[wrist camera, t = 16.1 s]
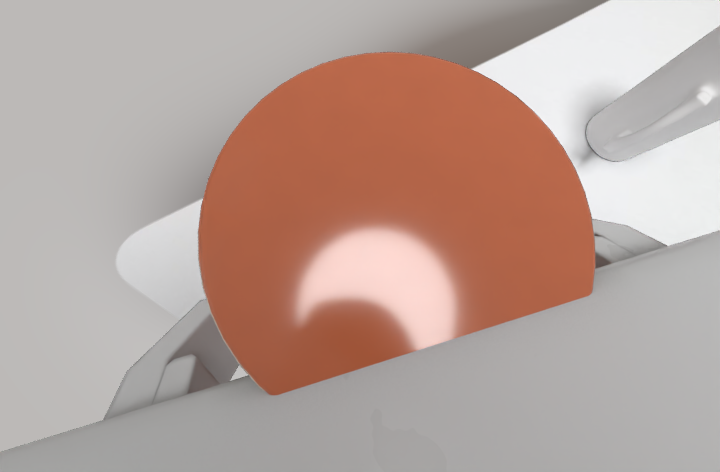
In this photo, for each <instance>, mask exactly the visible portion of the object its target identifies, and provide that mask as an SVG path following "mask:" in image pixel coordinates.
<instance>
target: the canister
mask: <svg viewBox="0 0 720 472" xmlns="http://www.w3.org/2000/svg"><path fill="white" fill-rule="evenodd" d="M198 260H199V266H200V273H201V279H202V286H203V289H204V293H205V296H206V299H207V303H208V306H209V309H210V312H211V315H212V317H213V319H214V322H215V324H216V326H217V328H218V330H219V332H220V334H221V337H222V339H223V341H224V342H225V344H226V345H227V347H228V348H229V350H230V351H231V353H232V354H233V356H234V357H235V359H236V361H237V362H238V364H239V365H240V366H241V367H242V368H243V369H244V371H245V372H246V373H247V374H248V375H249V376H250V378H251V379H252V380H253V381H254V382H255V383H256V384H257V386H258V387H259V388H261V389H262V390H263V391H266V392H267V393H268V394H269V395H280V394H283V393H286V392H289V391H292V390H295V389H298V388H302V387H305V386H308V385H311V384H314V383H317V382H320V381H323V380H327V379H330V378H333V377H336V376H339V375H342V374H345V373H349V372H352V371H355V370H358V369H361V368H364V367H367V366H370V365H374V364H377V363H380V362H383V361H386V360H389V359H392V358H396V357H399V356H402V355H405V354H408V353H411V352H414V351H417V350H421V349H424V348H427V347H430V346H433V345H436V344H439V343H443V342H446V341H449V340H452V339H455V338H458V337H461V336H464V335H468V334H471V333H474V332H477V331H480V330H483V329H486V328H490V327H493V326H496V325H499V324H502V323H505V322H508V321H512V320H515V319H518V318H521V317H524V316H527V315H530V314H533V313H537V312H540V311H543V310H546V309H549V308H552V307H555V306H559V305H562V304H565V303H568V302H571V301H574V300H577V299H580V298H584V297H587V296H589V295H590V294H591V293H592V291H593V284H594V275H595V265H596V262H595V236H594V230H593V223H592V217H591V212H590V209H589V205H588V202H587V198H586V195H585V191H584V189H583V186H582V184H581V181H580V179H579V177H578V174H577V172H576V169H575V168H574V166H573V164H572V162H571V160H570V159H569V157H568V155H567V153H566V151H565V150H564V148H563V147H562V145H561V144H560V142H559V141H558V140H557V138H556V137H555V136H554V134H553V133H552V131H551V130H550V129H549V128H548V127H547V125H546V124H545V123H544V122H543V121H542V120H541V119H540V118H539V117H538V115H537V114H536V113H535V112H534V111H533V110H532V109H530V108H529V107H528V106H527V105H526V104H525V103H524V102H522V101H521V100H520V99H519V98H518V97H517V96H515V95H514V94H513V93H511V92H510V91H508V90H507V89H505V88H504V87H503V86H501V85H500V84H498V83H497V82H495V81H493V80H491V79H489V78H487V77H486V76H484V75H482V74H480V73H478V72H476V71H474V70H471V69H469V68H466V67H464V66H462V65H459V64H457V63H454V62H450V61H447V60H443V59H440V58H436V57H431V56H425V55H420V54H414V53H399V52H380V53H364V54H359V55H353V56H347V57H343V58H339V59H336V60H333V61H329V62H326V63H322V64H320V65H318V66H316V67H314V68H311V69H309V70H306V71H304V72H301V73H300V74H298V75H296V76H295V77H293V78H291V79H289V80H288V81H286V82H284V83H283V84H281V85H280V86H278V87H277V88H276V89H274V90H273V91H272V92H271V93H269V94H268V95H267V96H265V97H264V98H263V99H262V100H261V101H260V102H259V103H258V104H257V105H256V106H255V107H254V108H253V109H252V110H251V111H250V112H249V113H248V114H247V115H246V116H245V117H244V118H243V119H242V121H241V122H240V123H239V125H238V126H237V127H236V129H235V130H234V131H233V132H232V134H231V135H230V137H229V138H228V140H227V142H226V144H225V145H224V147H223V149H222V150H221V152H220V154H219V155H218V157H217V160H216V162H215V165H214V167H213V169H212V172H211V174H210V177H209V179H208V183H207V186H206V190H205V194H204V197H203V201H202V205H201V212H200V220H199V228H198Z"/></svg>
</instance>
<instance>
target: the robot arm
mask: <svg viewBox="0 0 720 472" xmlns="http://www.w3.org/2000/svg"><path fill="white" fill-rule="evenodd" d="M592 223H593V230H594V236H595V262H596V265H595V275H594V284H593V291H592V293H591V294H590V295H589V296H587V297H584V298H580V299H577V300H574V301H571V302H568V303H565V304H562V305H559V306H555V307H552V308H549V309H546V310H543V311H540V312H537V313H533V314H530V315H527V316H524V317H521V318H518V319H515V320H512V321H508V322H505V323H502V324H499V325H496V326H493V327H490V328H486V329H483V330H480V331H477V332H474V333H471V334H468V335H464V336H461V337H458V338H455V339H452V340H449V341H446V342H443V343H439V344H436V345H433V346H430V347H427V348H424V349H421V350H417V351H414V352H411V353H408V354H405V355H402V356H399V357H396V358H392V359H389V360H386V361H383V362H380V363H377V364H374V365H370V366H367V367H364V368H361V369H358V370H355V371H352V372H349V373H345V374H342V375H339V376H336V377H333V378H330V379H327V380H323V381H320V382H317V383H314V384H311V385H308V386H305V387H302V388H298V389H295V390H292V391H289V392H286V393H283V394H280V395H269V394H268V393H267V392H266V391H263V390H262V389H261V388H259V387H258V386H257V384H256V383H255V382H254V381H253V380H252V379H251V378H250V376H249V375H248V376H245V377H242V378H239V379H236V380H233V381H230V379H231V378H232V376H233V374H234V373H235V371H236V369H237V368H238V366H239V364H238V362H237V361H236V359H235V357H234V356H233V354H232V353H231V351H230V350H229V348H228V347H227V345H226V344H225V342H224V341H223V339H222V337H221V334H220V332H219V330H218V328H217V326H216V324H215V322H214V319H213V317H212V315H211V312H210V309H209V306H208V303H207V299H204V300H201V301H200V302H198V303H197V304H196V305H195V306H194V307H193V308H192V309H191V310H190V311H189V312H188V313H187V314H186V315H185V316H184V317H183V318H182V319H181V320H180V321H179V322H178V323H177V324H176V325H175V326H173V327H172V328H171V329H170V330H169V331H168V332H167V333H166V334H165V335H164V336H163V337H162V338H161V339H160V340H159V341H158V342H157V343H156V344H155V345H154V346H153V347H152V348H151V349H150V350H148V351H147V352H146V353H145V354H144V355H143V356H142V357H141V358H140V359H139V360H138V361H137V362H136V363H135V364H134V365H133V366H132V367H131V368H130V369H129V370H128V371H127V372H126V374H125V376H124V378H123V380H122V382H121V385H120V386H119V388H118V390H117V392H116V395H115V397H114V399H113V401H112V403H111V405H110V407H109V409H108V411H107V413H106V415H105V417H104V419H103V420H102V421H99V422H96V423H93V424H90V425H86V426H83V427H80V428H76V429H73V430H70V431H67V432H63V433H60V434H57V435H54V436H50V437H47V438H44V439H41V440H38V441H34V442H31V443H28V444H24V445H21V446H18V447H15V448H12V449H8V450H5V451H2V452H0V472H720V230H719V231H716V232H712V233H709V234H706V235H703V236H699V237H696V238H693V239H690V240H687V241H683V242H680V243H677V244H674V245H670V246H667V245H665V244H663V243H661V242H659V241H657V240H655V239H653V238H651V237H649V236H647V235H645V234H643V233H641V232H639V231H637V230H635V229H633V228H631V227H629V226H627V225H622V224H617V223H611V222H606V221H601V220H596V219H592Z"/></svg>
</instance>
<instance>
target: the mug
mask: <svg viewBox="0 0 720 472" xmlns="http://www.w3.org/2000/svg"><path fill="white" fill-rule="evenodd" d="M718 120H720V26H719V27H717V28H716V29H714V30H713V31H711V32H710V33H709V34H707V35H706V36H704V37H703V38H702V39H700V40H699V41H697V42H696V43H695V44H693V45H692V46H690V47H689V48H688V49H686V50H685V51H683V52H682V53H681V54H679V55H678V56H677V57H675V58H674V59H672V60H671V61H670V62H668V63H667V64H665V65H664V66H663V67H661V68H660V69H659V70H657V71H656V72H654V73H653V74H652V75H650V76H649V77H647V78H646V79H645V80H643V81H642V82H640V83H639V84H638V85H636V86H635V87H634V88H632V89H631V90H629V91H628V92H627V93H625V94H624V95H622V96H621V97H620V98H618V99H617V100H615V101H614V102H613V103H611V104H610V105H608V106H607V107H606V108H604V109H603V110H602V111H600V112H599V113H598V114H596V115H595V116H594V117H593V118H592V119H591V120H590V121H589V123H588V125H587V129H586V136H587V140H588V143H589V145H590V146H591V148H592V149H593V150H594V151H595V152H596V153H597V154H598V155H599V156H601V157H602V158H604V159H607V160H610V161H624V160H627V159H629V158H632V157H634V156H636V155H639V154H641V153H643V152H646V151H648V150H651V149H653V148H656V147H658V146H660V145H663V144H665V143H667V142H669V141H672V140H674V139H676V138H679V137H681V136H683V135H686V134H688V133H690V132H693V131H695V130H697V129H700V128H702V127H704V126H707V125H709V124H711V123H714V122H716V121H718Z"/></svg>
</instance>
